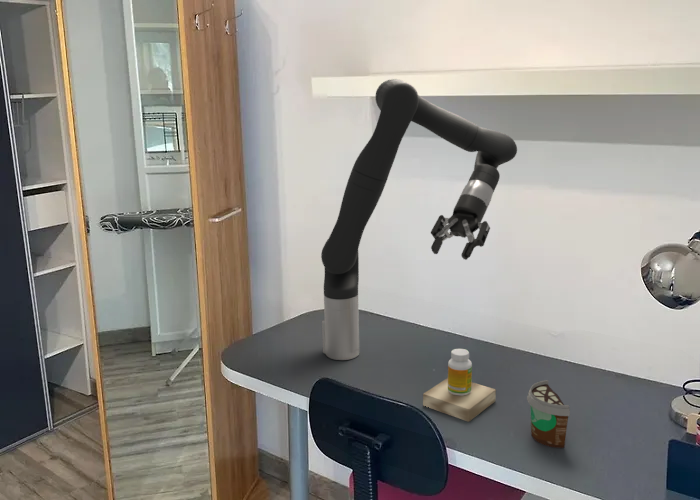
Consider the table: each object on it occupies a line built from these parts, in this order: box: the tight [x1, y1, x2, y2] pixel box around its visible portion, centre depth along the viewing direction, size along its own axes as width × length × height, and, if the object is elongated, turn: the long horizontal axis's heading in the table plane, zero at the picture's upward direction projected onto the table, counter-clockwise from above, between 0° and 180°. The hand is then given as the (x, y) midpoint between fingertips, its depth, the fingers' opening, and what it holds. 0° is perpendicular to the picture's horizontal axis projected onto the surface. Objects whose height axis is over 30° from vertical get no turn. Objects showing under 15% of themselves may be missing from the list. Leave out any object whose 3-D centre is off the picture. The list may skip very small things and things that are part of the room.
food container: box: [526, 379, 571, 449], centre depth 139 cm, size 12×6×10 cm, turn 5°
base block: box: [422, 377, 497, 423], centre depth 154 cm, size 12×12×3 cm
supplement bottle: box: [447, 348, 473, 396], centre depth 153 cm, size 5×5×10 cm
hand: (448, 255), depth 164 cm, fingers open, 8 cm apart
